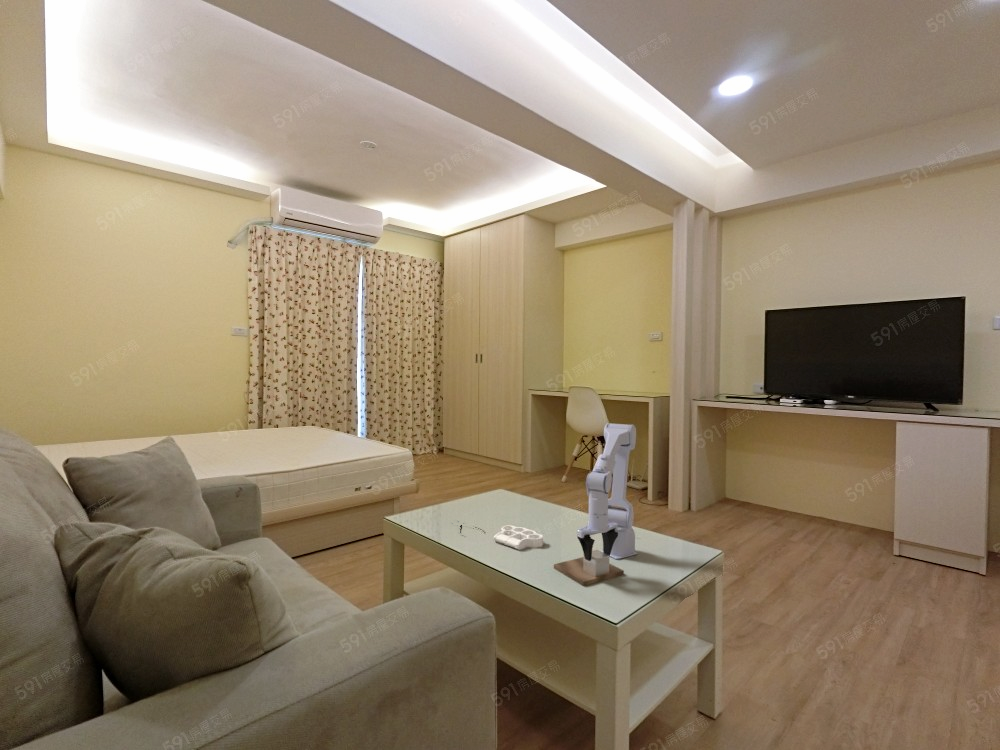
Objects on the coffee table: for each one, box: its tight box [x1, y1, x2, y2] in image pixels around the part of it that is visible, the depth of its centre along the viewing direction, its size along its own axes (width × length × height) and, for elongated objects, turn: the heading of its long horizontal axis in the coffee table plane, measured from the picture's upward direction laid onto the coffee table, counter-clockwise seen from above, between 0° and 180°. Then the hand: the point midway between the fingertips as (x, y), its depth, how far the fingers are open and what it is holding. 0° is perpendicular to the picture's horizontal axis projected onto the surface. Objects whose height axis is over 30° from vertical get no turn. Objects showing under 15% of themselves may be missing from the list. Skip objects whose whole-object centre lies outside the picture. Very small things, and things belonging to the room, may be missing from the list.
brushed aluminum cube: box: [583, 549, 610, 577], centre depth 142 cm, size 5×5×5 cm
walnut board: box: [553, 556, 625, 587], centre depth 145 cm, size 16×14×5 cm
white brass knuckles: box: [492, 524, 544, 551], centre depth 170 cm, size 3×18×15 cm
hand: (597, 557), depth 142 cm, fingers open, 7 cm apart
